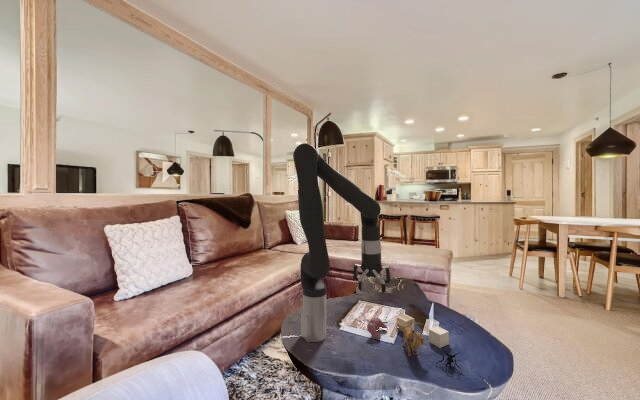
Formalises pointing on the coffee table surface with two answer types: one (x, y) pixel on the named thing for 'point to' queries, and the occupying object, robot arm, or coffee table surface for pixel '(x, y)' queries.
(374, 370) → the coffee table surface
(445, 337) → the beige block
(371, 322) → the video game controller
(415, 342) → the lion figurine
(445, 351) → the creature
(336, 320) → the coffee table surface
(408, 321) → the birch block
